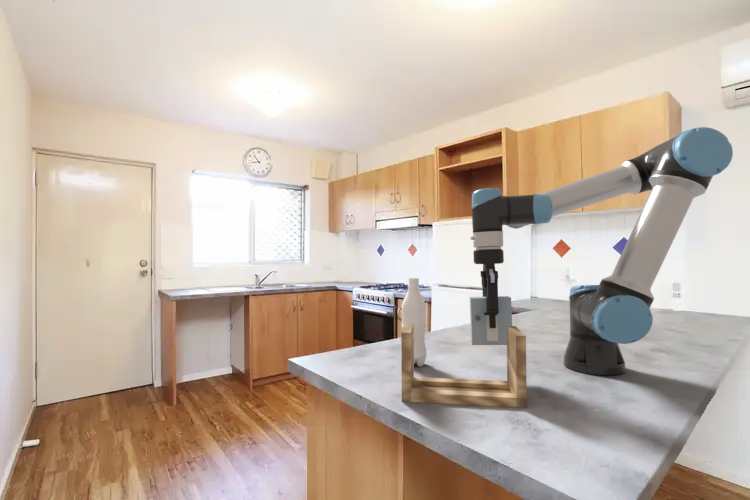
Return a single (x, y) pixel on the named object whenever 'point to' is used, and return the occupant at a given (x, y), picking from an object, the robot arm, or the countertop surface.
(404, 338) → the door frame
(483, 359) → the countertop surface
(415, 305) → the water bottle
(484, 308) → the door panel
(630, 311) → the robot arm
